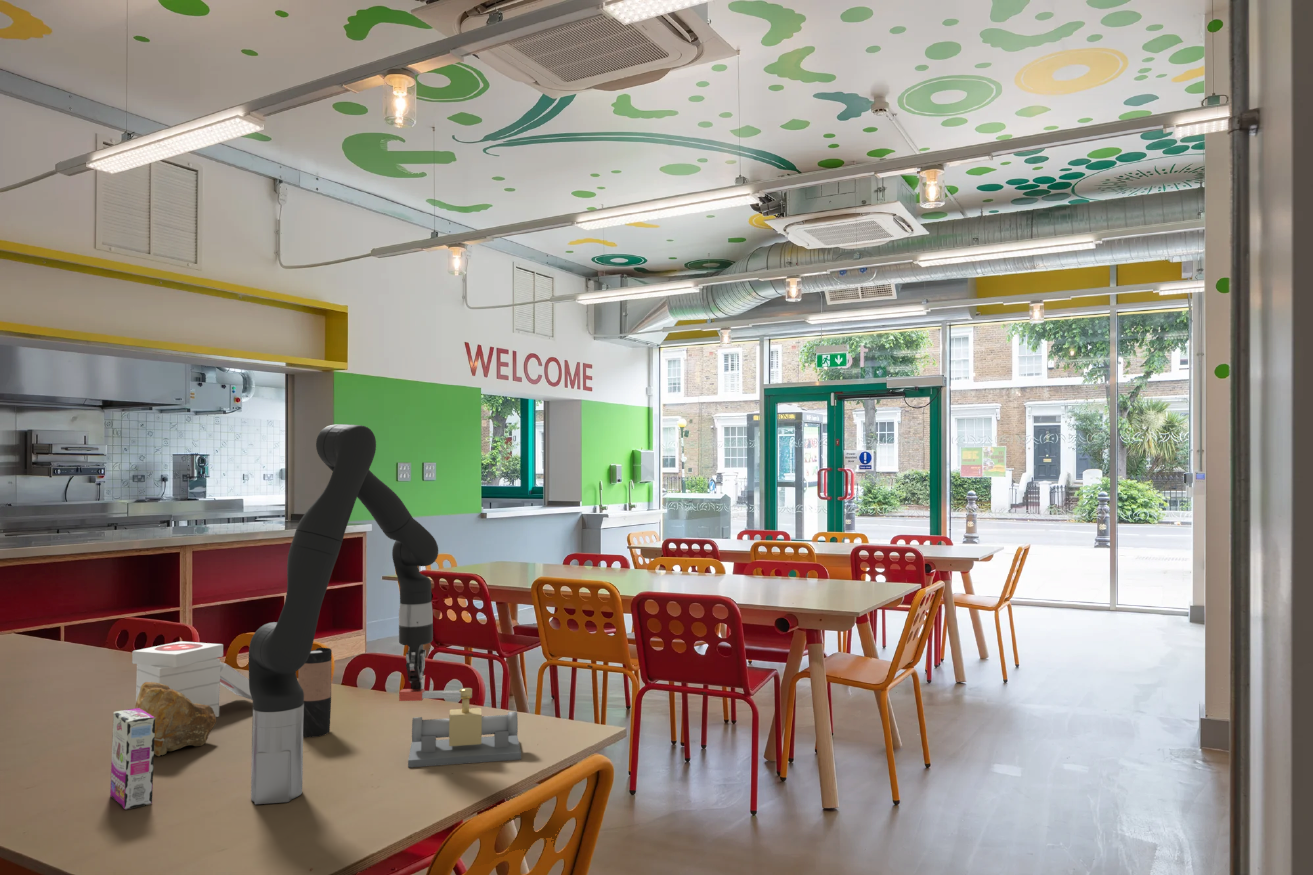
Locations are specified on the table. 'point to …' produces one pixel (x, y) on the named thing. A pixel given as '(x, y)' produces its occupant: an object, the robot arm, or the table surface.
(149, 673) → the pizza boxes
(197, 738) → the rough brown rock
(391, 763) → the table surface
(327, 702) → the travel mug
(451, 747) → the valve stand
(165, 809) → the table surface
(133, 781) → the candy bar box
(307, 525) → the robot arm
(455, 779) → the table surface
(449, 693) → the lever
